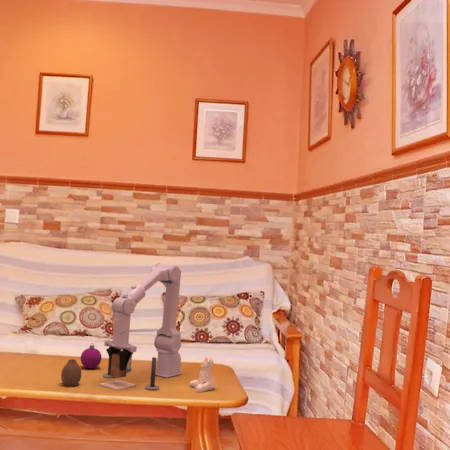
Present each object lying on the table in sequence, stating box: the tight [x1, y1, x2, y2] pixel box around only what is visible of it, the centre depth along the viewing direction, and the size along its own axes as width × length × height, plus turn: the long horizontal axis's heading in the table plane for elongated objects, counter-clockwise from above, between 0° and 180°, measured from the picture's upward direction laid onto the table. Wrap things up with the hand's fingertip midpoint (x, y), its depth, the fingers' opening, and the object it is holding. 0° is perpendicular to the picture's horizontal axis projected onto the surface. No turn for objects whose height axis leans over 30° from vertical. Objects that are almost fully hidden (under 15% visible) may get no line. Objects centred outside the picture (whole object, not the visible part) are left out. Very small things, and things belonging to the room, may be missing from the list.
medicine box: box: [121, 349, 133, 374], centre depth 224 cm, size 8×4×9 cm, turn 168°
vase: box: [60, 358, 82, 387], centre depth 199 cm, size 7×7×9 cm
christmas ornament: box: [80, 343, 102, 370], centre depth 226 cm, size 8×8×10 cm
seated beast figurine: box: [189, 355, 216, 393], centre depth 206 cm, size 10×9×12 cm
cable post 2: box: [144, 356, 160, 392], centre depth 201 cm, size 5×5×11 cm
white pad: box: [99, 379, 136, 391], centre depth 202 cm, size 9×9×1 cm
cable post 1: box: [102, 357, 116, 379], centre depth 214 cm, size 5×5×11 cm
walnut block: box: [110, 353, 128, 379], centre depth 203 cm, size 4×4×8 cm
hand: (118, 369), depth 203 cm, fingers closed on walnut block, 4 cm apart
